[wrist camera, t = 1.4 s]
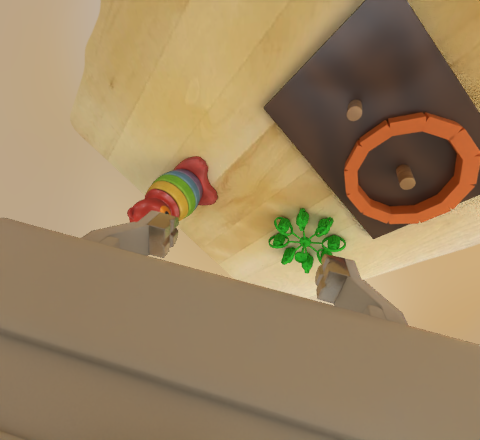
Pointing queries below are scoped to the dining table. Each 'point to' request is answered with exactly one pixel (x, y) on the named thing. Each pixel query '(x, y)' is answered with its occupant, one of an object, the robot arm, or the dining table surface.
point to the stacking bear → (177, 191)
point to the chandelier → (305, 240)
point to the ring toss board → (377, 108)
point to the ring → (439, 204)
